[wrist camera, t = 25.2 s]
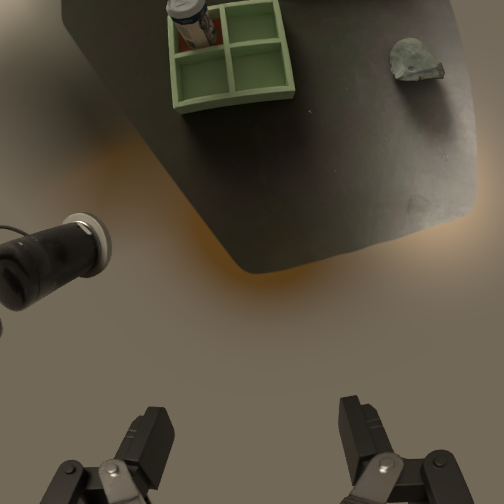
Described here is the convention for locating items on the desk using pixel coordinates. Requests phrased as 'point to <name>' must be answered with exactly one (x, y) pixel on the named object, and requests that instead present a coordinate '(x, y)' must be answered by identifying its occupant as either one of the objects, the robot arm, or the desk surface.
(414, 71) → the stone
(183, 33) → the beer can
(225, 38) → the compartment tray
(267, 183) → the desk surface
